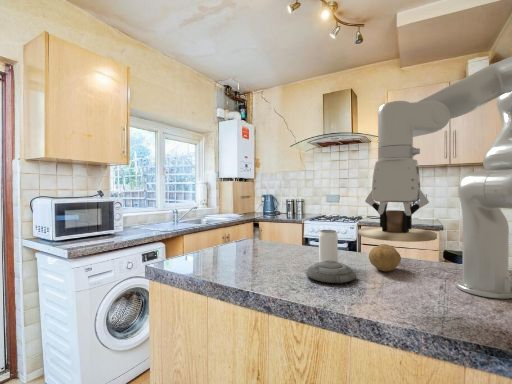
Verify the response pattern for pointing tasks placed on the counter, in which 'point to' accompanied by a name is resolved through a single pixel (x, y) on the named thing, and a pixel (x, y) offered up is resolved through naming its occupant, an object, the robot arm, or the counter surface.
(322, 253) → the can
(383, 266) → the potato
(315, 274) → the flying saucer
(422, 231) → the lid
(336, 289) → the counter surface
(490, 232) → the robot arm
